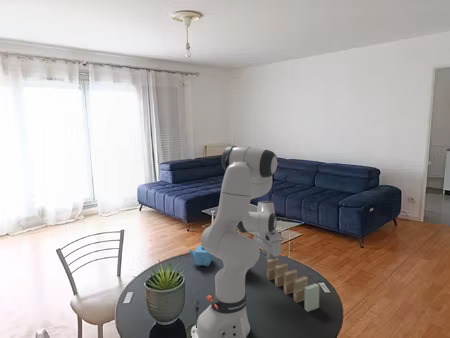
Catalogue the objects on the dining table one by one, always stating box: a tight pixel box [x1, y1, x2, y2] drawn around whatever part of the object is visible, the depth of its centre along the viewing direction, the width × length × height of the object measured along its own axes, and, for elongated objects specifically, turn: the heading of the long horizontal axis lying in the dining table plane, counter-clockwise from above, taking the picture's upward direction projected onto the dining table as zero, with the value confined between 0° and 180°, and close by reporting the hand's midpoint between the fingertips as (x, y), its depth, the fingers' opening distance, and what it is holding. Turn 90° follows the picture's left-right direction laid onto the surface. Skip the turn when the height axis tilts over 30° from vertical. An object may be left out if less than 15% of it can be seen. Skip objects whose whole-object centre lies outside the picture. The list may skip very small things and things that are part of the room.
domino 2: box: [274, 262, 289, 288], centre depth 146 cm, size 2×6×10 cm, turn 116°
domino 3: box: [283, 268, 298, 295], centre depth 140 cm, size 2×6×10 cm, turn 116°
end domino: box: [304, 283, 320, 313], centre depth 127 cm, size 2×6×10 cm, turn 116°
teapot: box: [188, 245, 215, 268], centre depth 170 cm, size 18×14×10 cm
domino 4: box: [293, 275, 309, 304], centre depth 133 cm, size 2×6×10 cm, turn 116°
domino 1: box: [266, 256, 280, 281], centre depth 152 cm, size 2×6×10 cm, turn 116°
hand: (266, 257), depth 157 cm, fingers closed
